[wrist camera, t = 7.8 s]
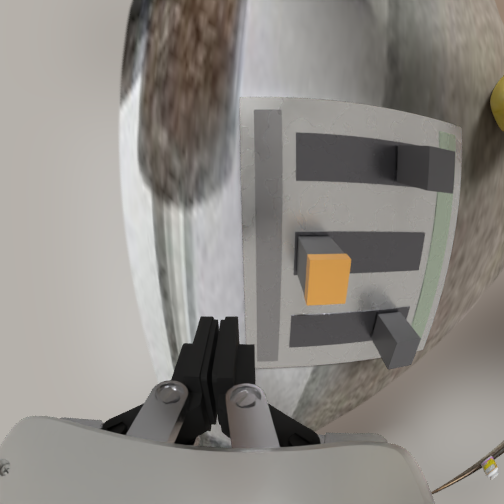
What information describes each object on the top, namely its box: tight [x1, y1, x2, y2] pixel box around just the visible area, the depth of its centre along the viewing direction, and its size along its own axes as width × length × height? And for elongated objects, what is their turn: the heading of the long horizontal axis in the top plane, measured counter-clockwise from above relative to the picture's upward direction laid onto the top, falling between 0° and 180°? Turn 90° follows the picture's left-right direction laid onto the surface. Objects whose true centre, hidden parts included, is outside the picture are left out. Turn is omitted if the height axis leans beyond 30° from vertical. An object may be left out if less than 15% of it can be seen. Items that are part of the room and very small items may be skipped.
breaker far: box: [372, 312, 421, 369], centre depth 22 cm, size 3×2×4 cm
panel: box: [240, 97, 462, 368], centre depth 22 cm, size 24×20×2 cm
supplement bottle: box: [481, 456, 498, 480], centre depth 52 cm, size 7×7×13 cm
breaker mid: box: [297, 236, 351, 306], centre depth 19 cm, size 3×3×5 cm
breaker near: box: [397, 145, 455, 194], centre depth 17 cm, size 3×2×4 cm
